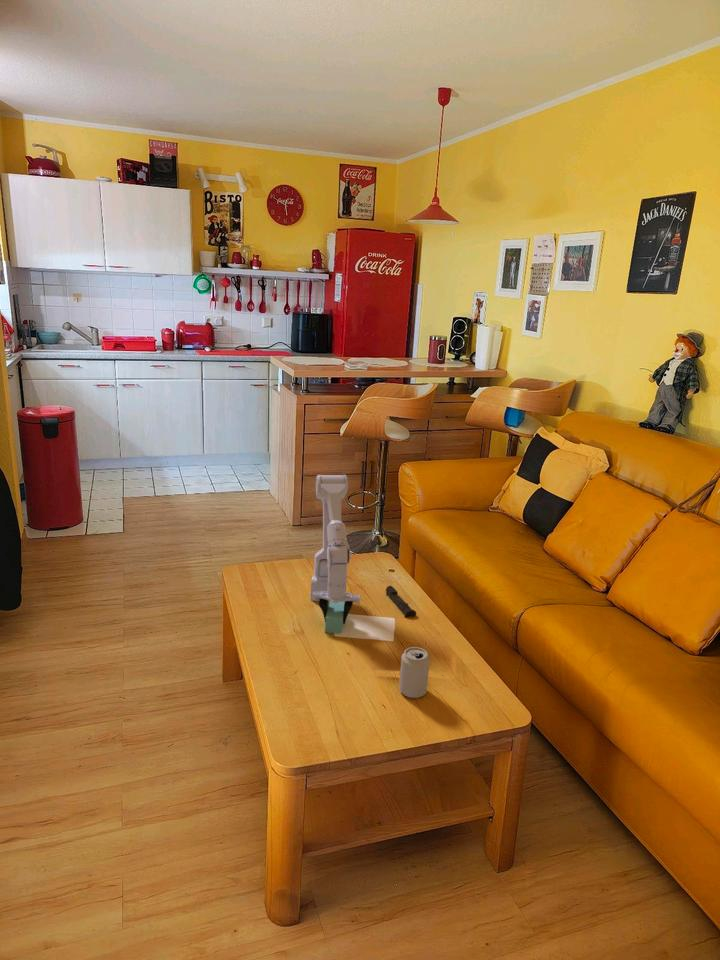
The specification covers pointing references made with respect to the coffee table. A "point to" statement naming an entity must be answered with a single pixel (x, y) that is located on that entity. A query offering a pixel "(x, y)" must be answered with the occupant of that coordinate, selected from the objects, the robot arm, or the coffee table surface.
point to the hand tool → (399, 602)
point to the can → (414, 672)
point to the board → (368, 627)
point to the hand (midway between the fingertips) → (335, 621)
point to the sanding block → (334, 618)
